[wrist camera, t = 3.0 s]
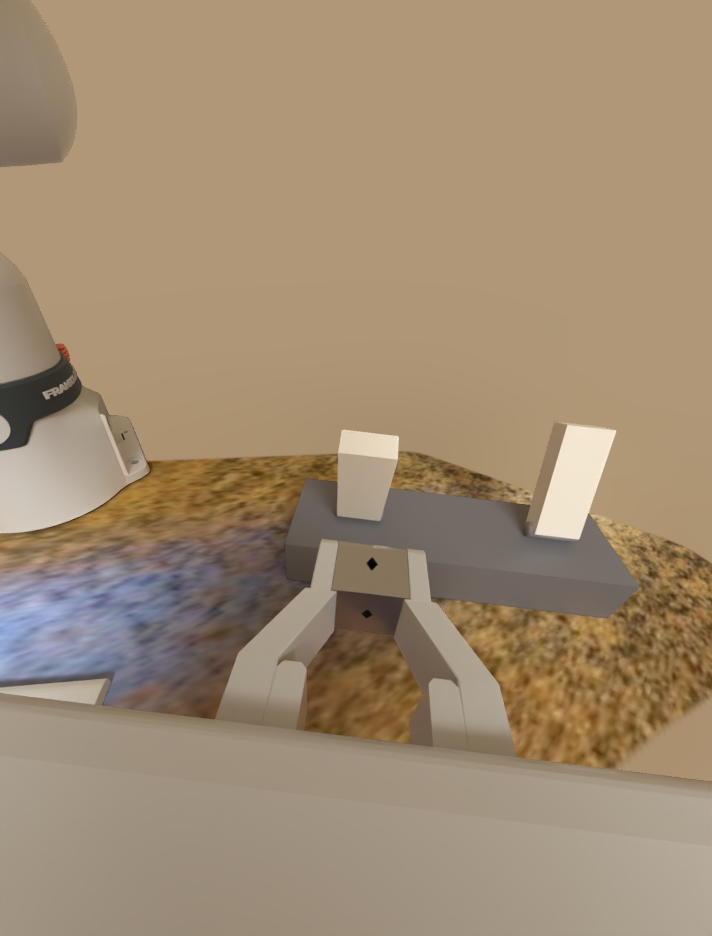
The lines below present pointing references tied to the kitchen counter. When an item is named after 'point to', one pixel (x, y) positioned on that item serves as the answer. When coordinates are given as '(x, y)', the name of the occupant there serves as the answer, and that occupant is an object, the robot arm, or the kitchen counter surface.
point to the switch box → (470, 550)
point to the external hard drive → (65, 691)
